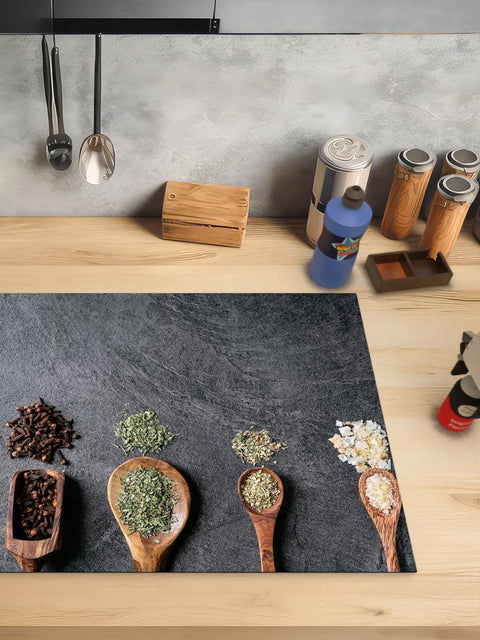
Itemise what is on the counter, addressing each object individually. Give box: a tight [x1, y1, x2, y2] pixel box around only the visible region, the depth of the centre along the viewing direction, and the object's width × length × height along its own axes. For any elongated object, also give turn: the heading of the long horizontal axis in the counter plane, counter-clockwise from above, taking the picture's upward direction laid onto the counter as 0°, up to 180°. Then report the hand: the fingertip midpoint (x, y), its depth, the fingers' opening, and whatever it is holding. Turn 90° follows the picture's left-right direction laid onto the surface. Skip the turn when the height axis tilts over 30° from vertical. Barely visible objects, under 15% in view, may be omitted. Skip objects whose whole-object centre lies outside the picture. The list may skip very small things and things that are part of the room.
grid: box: [364, 247, 454, 294], centre depth 164 cm, size 16×9×4 cm, turn 98°
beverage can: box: [436, 374, 480, 432], centre depth 139 cm, size 6×6×12 cm
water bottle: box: [308, 184, 373, 290], centre depth 156 cm, size 9×9×25 cm
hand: (469, 394), depth 136 cm, fingers open, 9 cm apart
